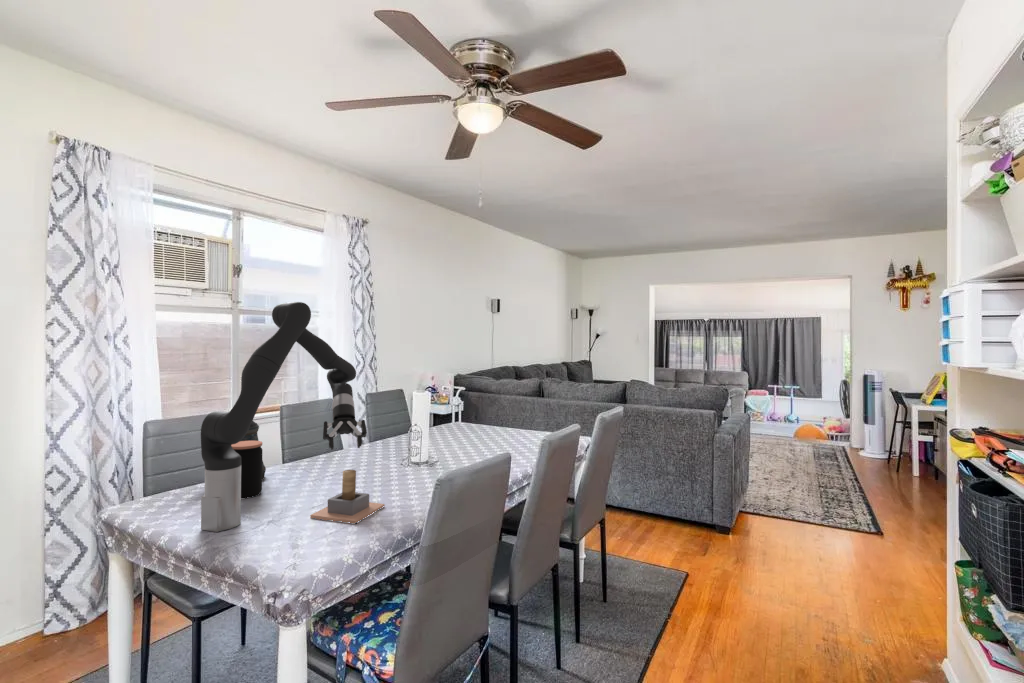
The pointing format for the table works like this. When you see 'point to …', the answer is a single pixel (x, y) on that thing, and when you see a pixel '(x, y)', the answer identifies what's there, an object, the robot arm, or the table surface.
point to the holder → (347, 509)
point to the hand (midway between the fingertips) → (345, 447)
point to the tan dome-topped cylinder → (349, 485)
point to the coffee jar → (250, 467)
